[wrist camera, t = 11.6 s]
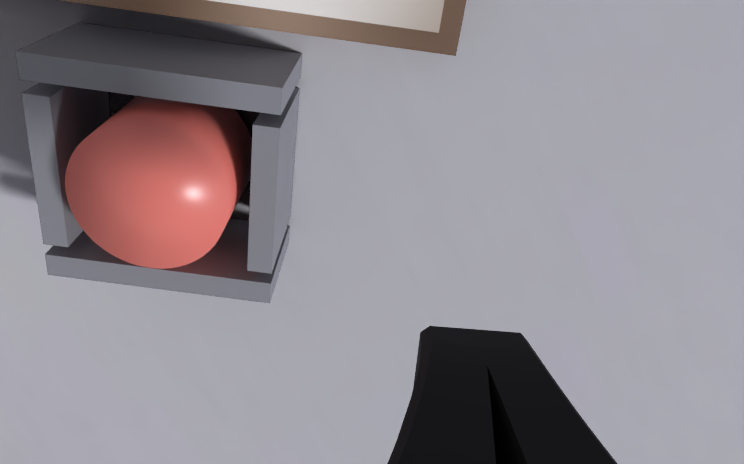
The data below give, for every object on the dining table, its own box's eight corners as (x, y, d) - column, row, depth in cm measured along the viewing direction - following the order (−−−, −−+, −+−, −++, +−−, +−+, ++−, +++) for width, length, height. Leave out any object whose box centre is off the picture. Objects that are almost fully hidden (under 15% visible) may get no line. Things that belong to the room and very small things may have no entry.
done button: (256, 93, 16) (228, 135, 13) (251, 218, 18) (225, 277, 15) (113, 73, 16) (56, 112, 13) (122, 201, 18) (73, 258, 15)
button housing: (302, 53, 16) (282, 88, 13) (288, 243, 19) (269, 303, 16) (79, 22, 16) (14, 51, 13) (97, 218, 19) (48, 274, 16)
